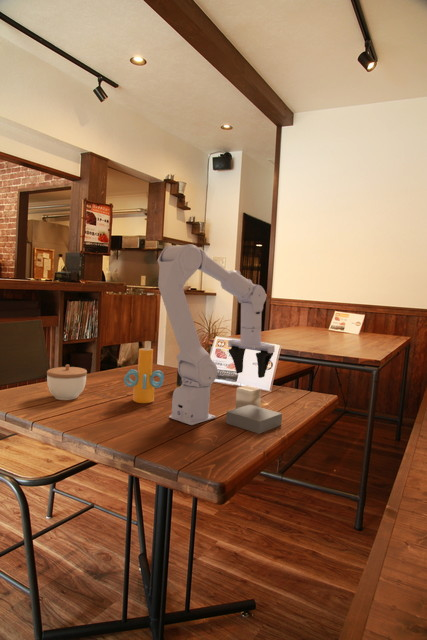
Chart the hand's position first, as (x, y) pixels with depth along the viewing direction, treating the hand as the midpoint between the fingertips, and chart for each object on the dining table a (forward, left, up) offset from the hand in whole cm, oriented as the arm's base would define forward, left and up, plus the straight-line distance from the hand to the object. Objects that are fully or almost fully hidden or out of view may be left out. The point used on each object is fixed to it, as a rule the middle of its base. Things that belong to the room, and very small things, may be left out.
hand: (250, 374), depth 118 cm
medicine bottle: (+4, +26, -10) cm, 28 cm away
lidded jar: (-33, +40, -10) cm, 53 cm away
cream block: (0, 0, -10) cm, 10 cm away
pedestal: (-10, -9, -10) cm, 17 cm away
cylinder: (-18, +24, -10) cm, 32 cm away
